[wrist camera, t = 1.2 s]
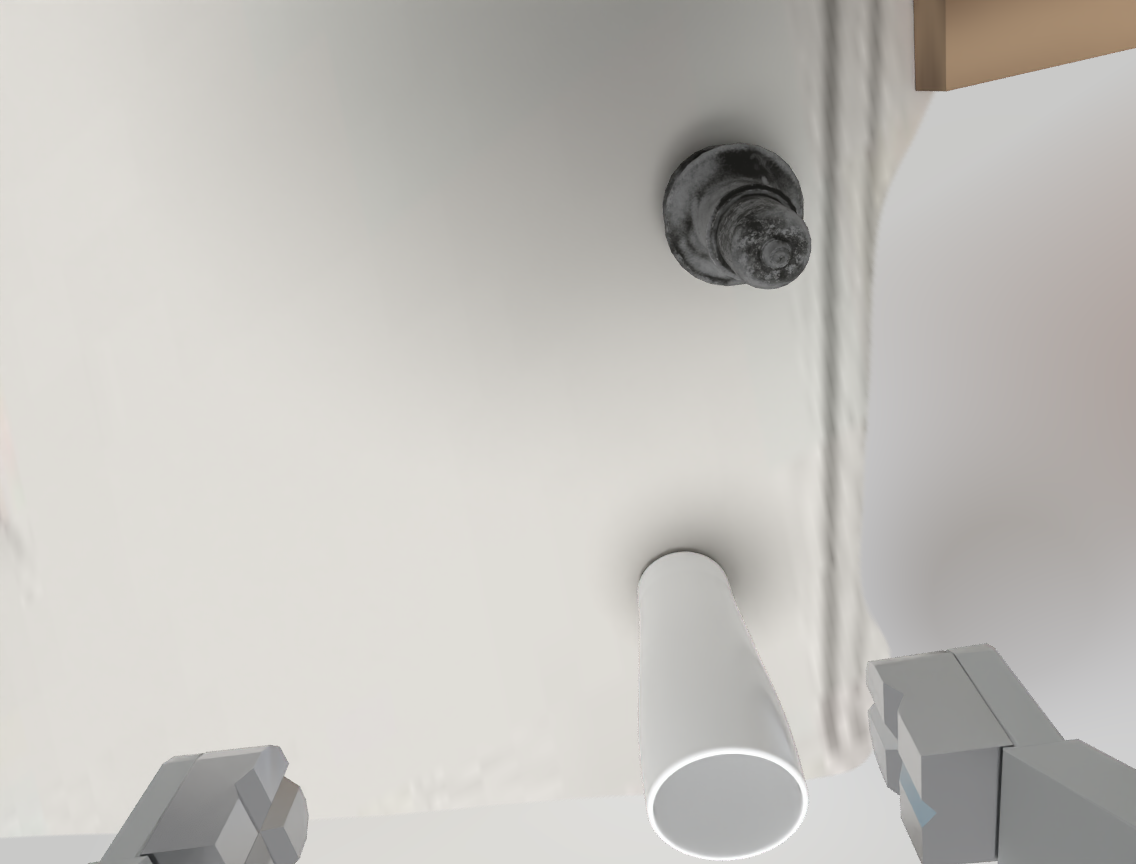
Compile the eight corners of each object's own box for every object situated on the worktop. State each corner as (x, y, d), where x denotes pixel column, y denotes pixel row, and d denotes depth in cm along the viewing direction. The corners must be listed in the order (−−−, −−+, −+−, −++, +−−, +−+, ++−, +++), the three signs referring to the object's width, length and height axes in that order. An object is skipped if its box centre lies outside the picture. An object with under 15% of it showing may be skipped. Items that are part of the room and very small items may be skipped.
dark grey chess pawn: (690, 290, 37) (737, 376, 26) (634, 181, 35) (659, 225, 24) (802, 228, 35) (902, 292, 24) (751, 111, 33) (835, 124, 22)
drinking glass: (762, 567, 43) (846, 787, 30) (698, 646, 46) (748, 883, 32) (664, 517, 42) (704, 724, 28) (602, 602, 45) (613, 829, 31)
